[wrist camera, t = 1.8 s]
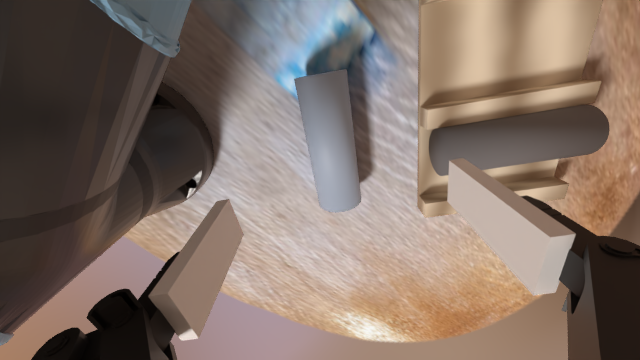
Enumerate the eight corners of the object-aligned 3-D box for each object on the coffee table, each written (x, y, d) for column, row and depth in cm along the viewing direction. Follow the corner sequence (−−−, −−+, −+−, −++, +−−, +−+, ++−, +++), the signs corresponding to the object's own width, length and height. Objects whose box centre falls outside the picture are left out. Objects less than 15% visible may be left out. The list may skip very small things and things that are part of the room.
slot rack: (417, 206, 32) (425, 217, 29) (418, -21, 21) (430, -31, 19) (545, 188, 31) (564, 198, 28) (613, -61, 20) (651, -78, 18)
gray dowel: (357, 187, 31) (364, 208, 26) (318, 193, 31) (319, 215, 27) (343, 68, 25) (350, 69, 20) (296, 77, 25) (292, 80, 21)
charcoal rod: (448, 183, 24) (450, 134, 22) (428, 166, 29) (428, 124, 27) (600, 161, 23) (616, 107, 21) (553, 147, 27) (564, 102, 25)
